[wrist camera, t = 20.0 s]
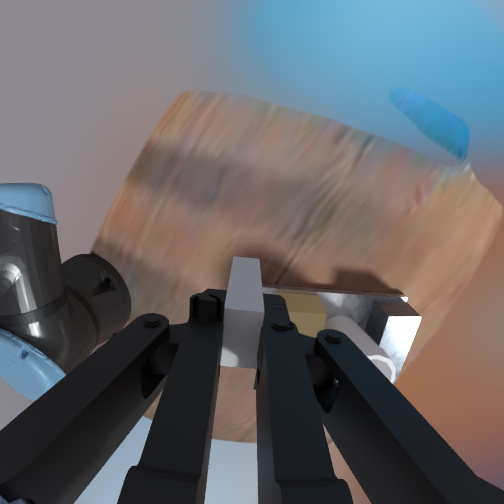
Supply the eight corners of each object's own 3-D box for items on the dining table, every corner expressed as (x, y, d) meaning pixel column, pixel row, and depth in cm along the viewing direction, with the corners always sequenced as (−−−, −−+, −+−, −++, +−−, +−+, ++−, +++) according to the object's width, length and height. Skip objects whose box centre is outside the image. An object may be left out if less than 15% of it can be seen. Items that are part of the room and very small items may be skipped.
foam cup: (364, 348, 45) (392, 398, 33) (313, 361, 46) (329, 416, 33) (363, 300, 43) (397, 346, 30) (306, 314, 43) (325, 366, 31)
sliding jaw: (266, 362, 46) (268, 386, 40) (278, 292, 42) (282, 311, 36) (302, 364, 46) (307, 387, 40) (317, 295, 42) (327, 314, 37)
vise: (239, 357, 47) (237, 386, 40) (247, 281, 43) (246, 304, 36) (380, 361, 48) (395, 385, 41) (403, 293, 44) (424, 313, 37)
